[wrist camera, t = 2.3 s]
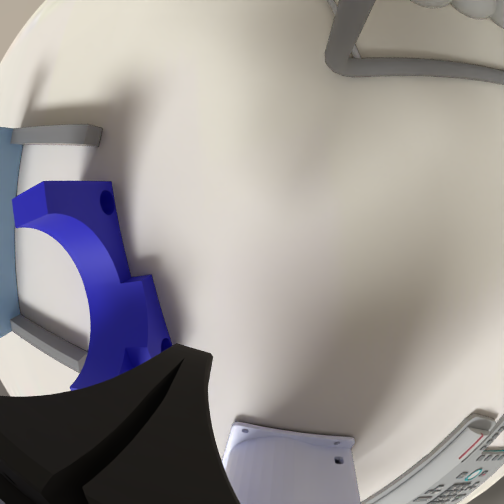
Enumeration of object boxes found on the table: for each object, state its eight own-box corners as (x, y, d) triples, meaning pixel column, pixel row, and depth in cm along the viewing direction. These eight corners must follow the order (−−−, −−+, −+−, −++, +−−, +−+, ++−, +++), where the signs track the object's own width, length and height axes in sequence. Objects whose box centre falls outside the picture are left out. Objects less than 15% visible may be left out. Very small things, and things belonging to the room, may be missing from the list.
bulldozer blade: (102, 128, 14) (48, 113, 9) (89, 363, 18) (54, 397, 13) (18, 130, 15) (-25, 126, 10) (15, 320, 19) (-19, 340, 14)
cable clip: (178, 359, 17) (141, 418, 11) (124, 359, 18) (80, 407, 12) (133, 174, 15) (64, 170, 9) (79, 193, 16) (11, 199, 10)
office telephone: (351, 520, 18) (492, 404, 13) (349, 503, 20) (480, 388, 16) (455, 511, 17) (549, 422, 13) (451, 500, 20) (542, 412, 15)
